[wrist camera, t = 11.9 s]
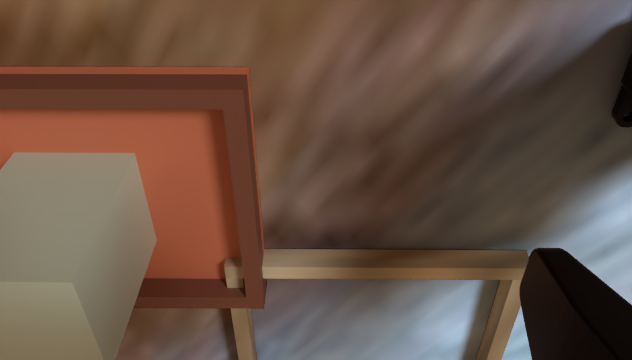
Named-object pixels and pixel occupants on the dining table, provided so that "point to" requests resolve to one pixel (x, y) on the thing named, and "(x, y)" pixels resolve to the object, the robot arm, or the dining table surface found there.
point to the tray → (159, 163)
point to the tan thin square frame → (392, 266)
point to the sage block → (70, 253)
